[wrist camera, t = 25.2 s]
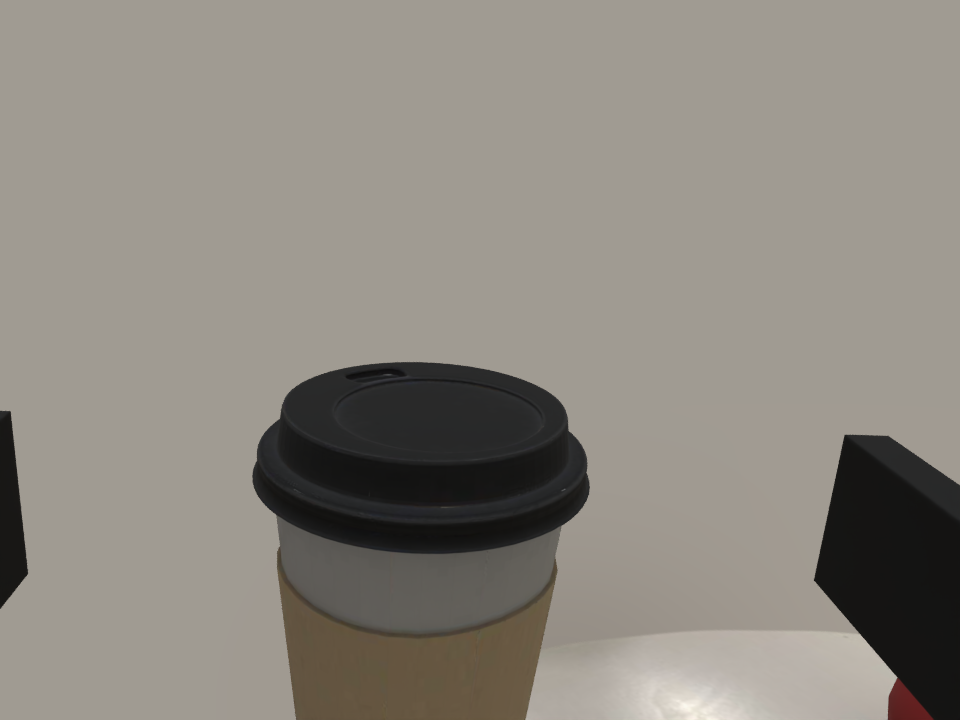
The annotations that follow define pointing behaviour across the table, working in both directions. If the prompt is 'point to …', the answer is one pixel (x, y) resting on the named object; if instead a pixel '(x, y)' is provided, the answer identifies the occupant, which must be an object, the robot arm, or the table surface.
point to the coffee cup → (417, 538)
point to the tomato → (905, 705)
